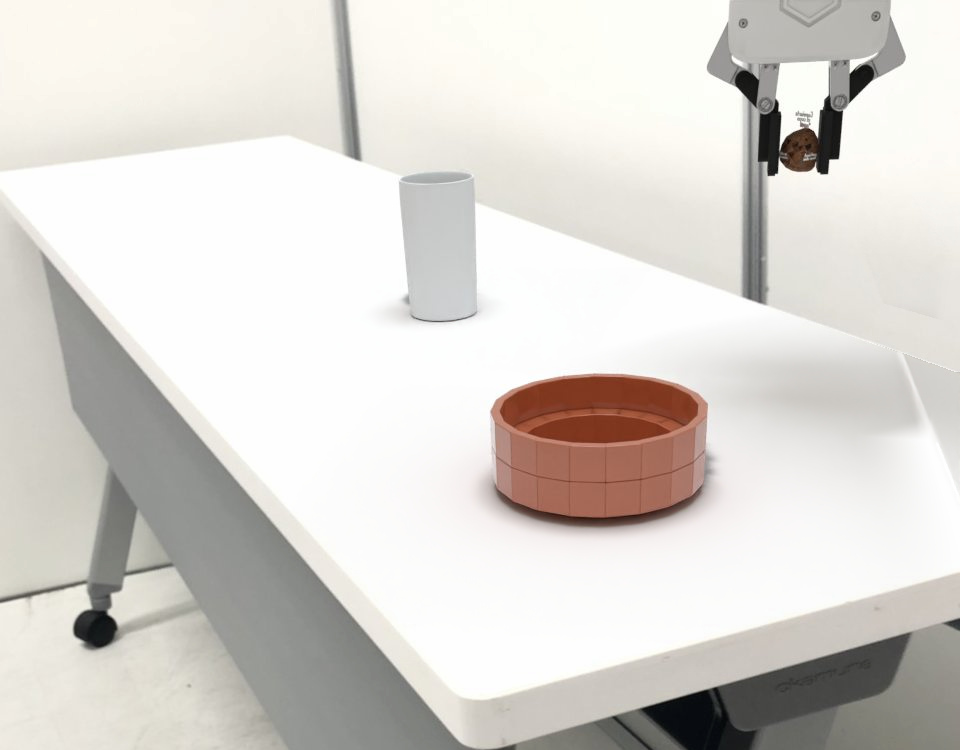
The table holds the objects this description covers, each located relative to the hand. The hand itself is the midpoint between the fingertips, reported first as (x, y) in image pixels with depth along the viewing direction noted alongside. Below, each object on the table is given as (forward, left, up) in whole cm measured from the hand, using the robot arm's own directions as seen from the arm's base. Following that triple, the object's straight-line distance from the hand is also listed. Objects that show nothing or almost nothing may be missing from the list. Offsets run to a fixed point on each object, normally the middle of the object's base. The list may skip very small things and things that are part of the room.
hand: (797, 169), depth 85 cm
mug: (+30, -20, -15) cm, 39 cm away
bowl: (+12, +21, -15) cm, 28 cm away
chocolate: (0, 0, 0) cm, 0 cm away
